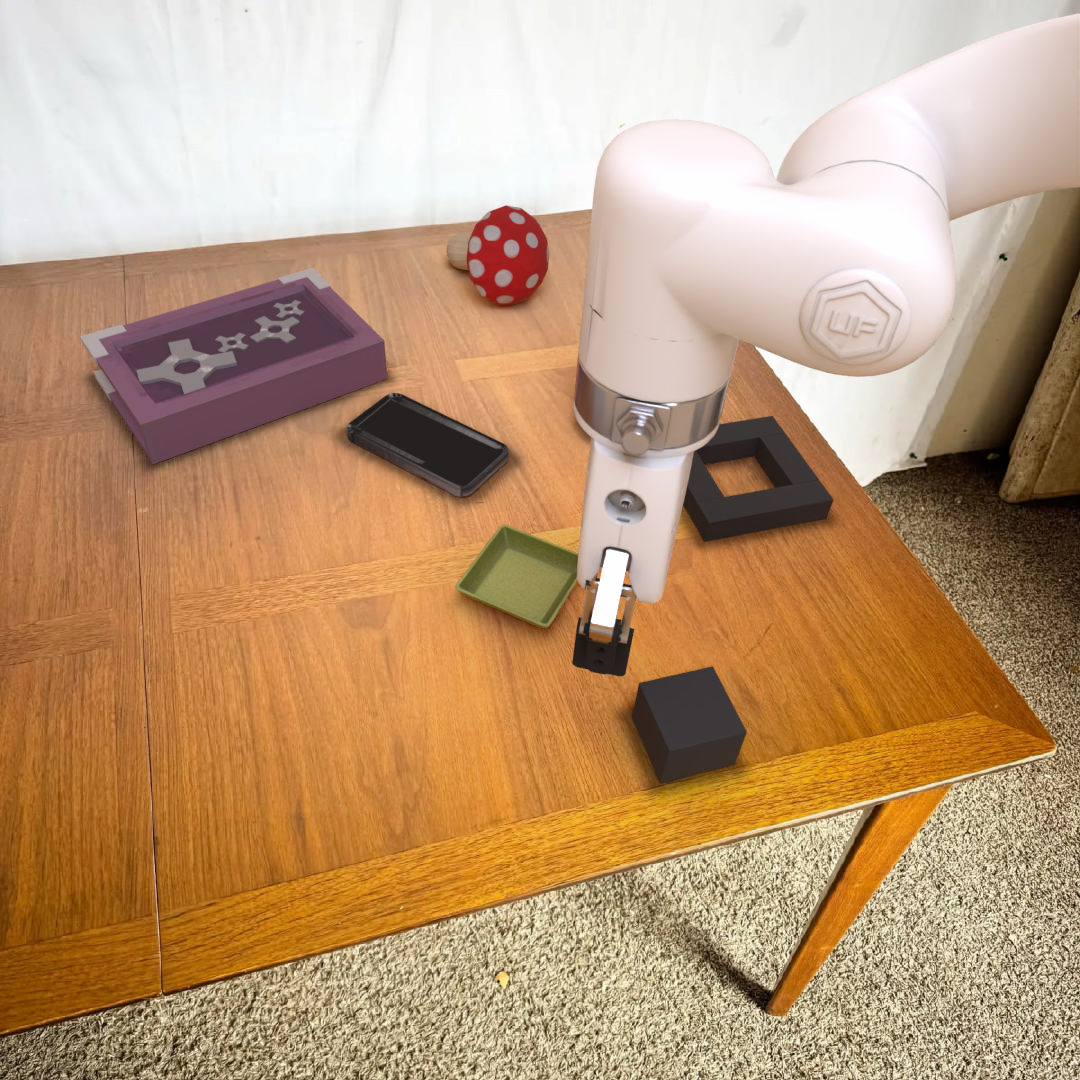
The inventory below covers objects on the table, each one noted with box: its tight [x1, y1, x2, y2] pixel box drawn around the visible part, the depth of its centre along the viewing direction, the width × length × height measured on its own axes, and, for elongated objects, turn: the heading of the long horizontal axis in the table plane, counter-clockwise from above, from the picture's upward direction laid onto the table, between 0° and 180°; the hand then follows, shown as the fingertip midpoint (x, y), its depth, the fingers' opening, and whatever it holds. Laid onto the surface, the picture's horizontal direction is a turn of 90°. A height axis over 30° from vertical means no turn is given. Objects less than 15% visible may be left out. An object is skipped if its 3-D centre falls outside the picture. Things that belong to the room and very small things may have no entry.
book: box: [79, 267, 388, 465], centre depth 99 cm, size 25×16×5 cm, turn 126°
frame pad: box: [683, 415, 834, 543], centre depth 92 cm, size 13×13×2 cm
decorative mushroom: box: [446, 204, 551, 307], centre depth 113 cm, size 11×11×15 cm
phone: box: [346, 392, 510, 498], centre depth 94 cm, size 8×1×15 cm
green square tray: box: [454, 524, 578, 629], centre depth 81 cm, size 9×9×2 cm
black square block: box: [631, 665, 748, 784], centre depth 71 cm, size 6×6×4 cm
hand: (613, 607), depth 60 cm, fingers open, 9 cm apart
